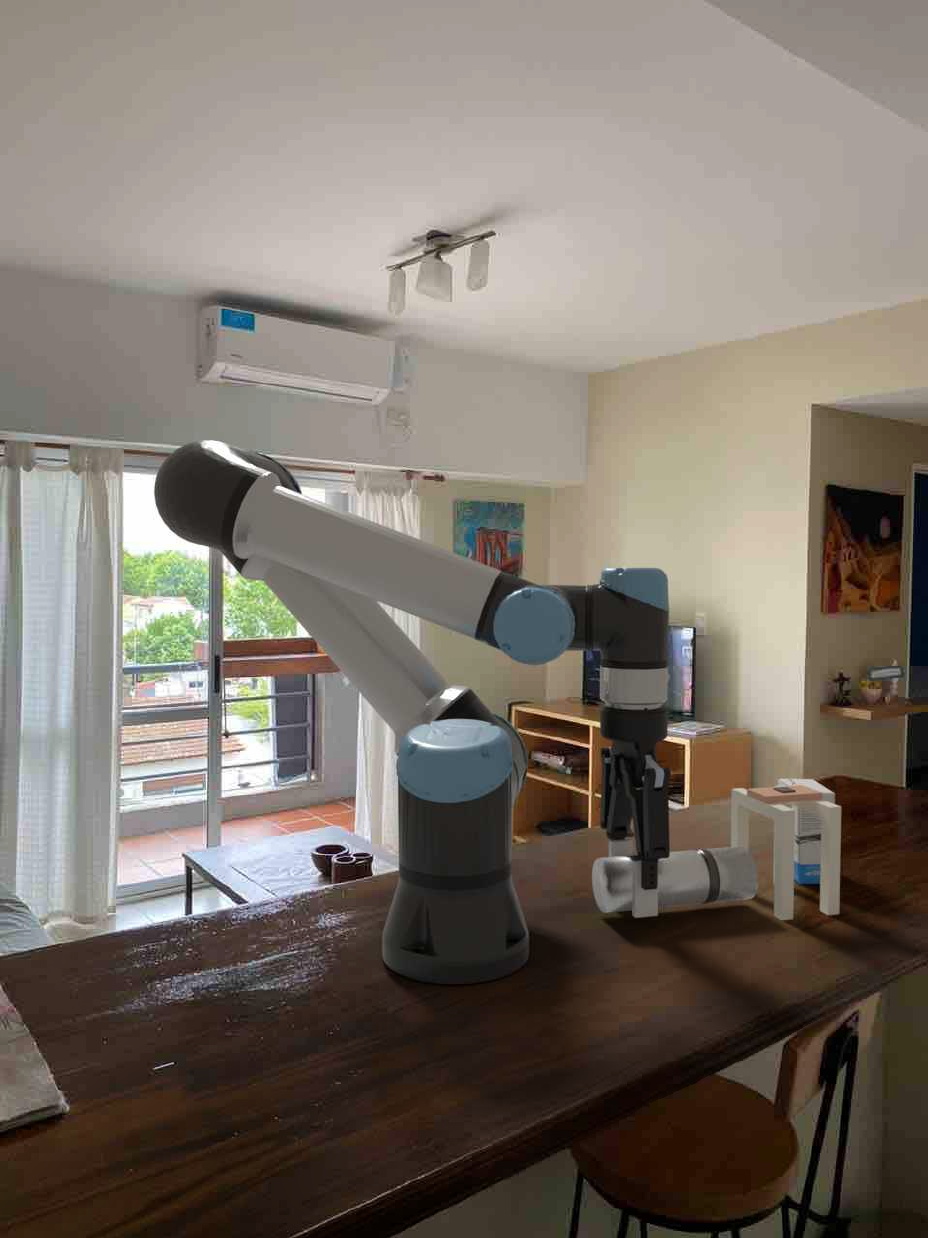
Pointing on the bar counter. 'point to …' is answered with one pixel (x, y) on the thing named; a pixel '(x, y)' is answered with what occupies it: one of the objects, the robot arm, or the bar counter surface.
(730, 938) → the bar counter surface
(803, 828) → the ink box
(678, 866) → the silver metal cylinder
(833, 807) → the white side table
